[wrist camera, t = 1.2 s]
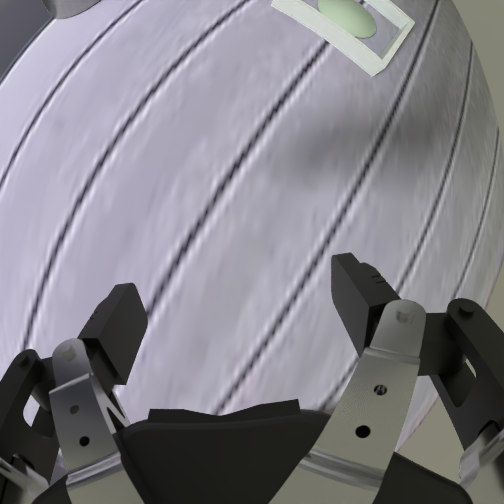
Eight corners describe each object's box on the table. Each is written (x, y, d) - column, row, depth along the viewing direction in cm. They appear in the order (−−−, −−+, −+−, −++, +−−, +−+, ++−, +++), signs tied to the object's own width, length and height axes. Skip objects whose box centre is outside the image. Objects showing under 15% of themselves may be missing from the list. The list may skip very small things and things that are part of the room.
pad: (305, 8, 25) (306, 6, 24) (333, -12, 25) (334, -14, 24) (361, 48, 26) (363, 46, 26) (382, 23, 27) (383, 22, 26)
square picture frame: (270, 5, 24) (276, -9, 21) (324, -28, 24) (331, -39, 21) (372, 77, 27) (385, 67, 24) (404, 30, 27) (415, 22, 24)
